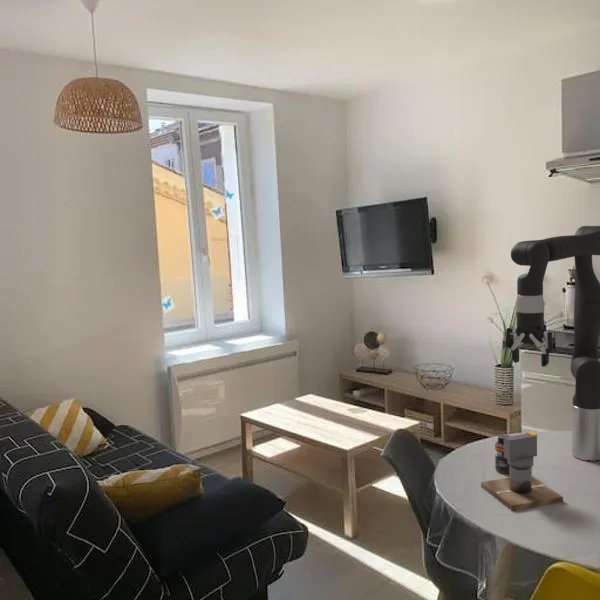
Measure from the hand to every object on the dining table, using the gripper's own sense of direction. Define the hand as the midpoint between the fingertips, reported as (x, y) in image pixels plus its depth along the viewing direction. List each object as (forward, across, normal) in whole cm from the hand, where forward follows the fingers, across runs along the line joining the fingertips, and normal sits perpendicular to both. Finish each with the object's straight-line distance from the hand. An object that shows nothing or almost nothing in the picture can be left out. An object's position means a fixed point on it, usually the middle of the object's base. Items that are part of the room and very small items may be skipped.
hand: (530, 364), depth 178 cm
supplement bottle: (+36, -9, +2) cm, 38 cm away
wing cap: (+27, +2, -10) cm, 29 cm away
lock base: (+36, +2, -10) cm, 38 cm away
